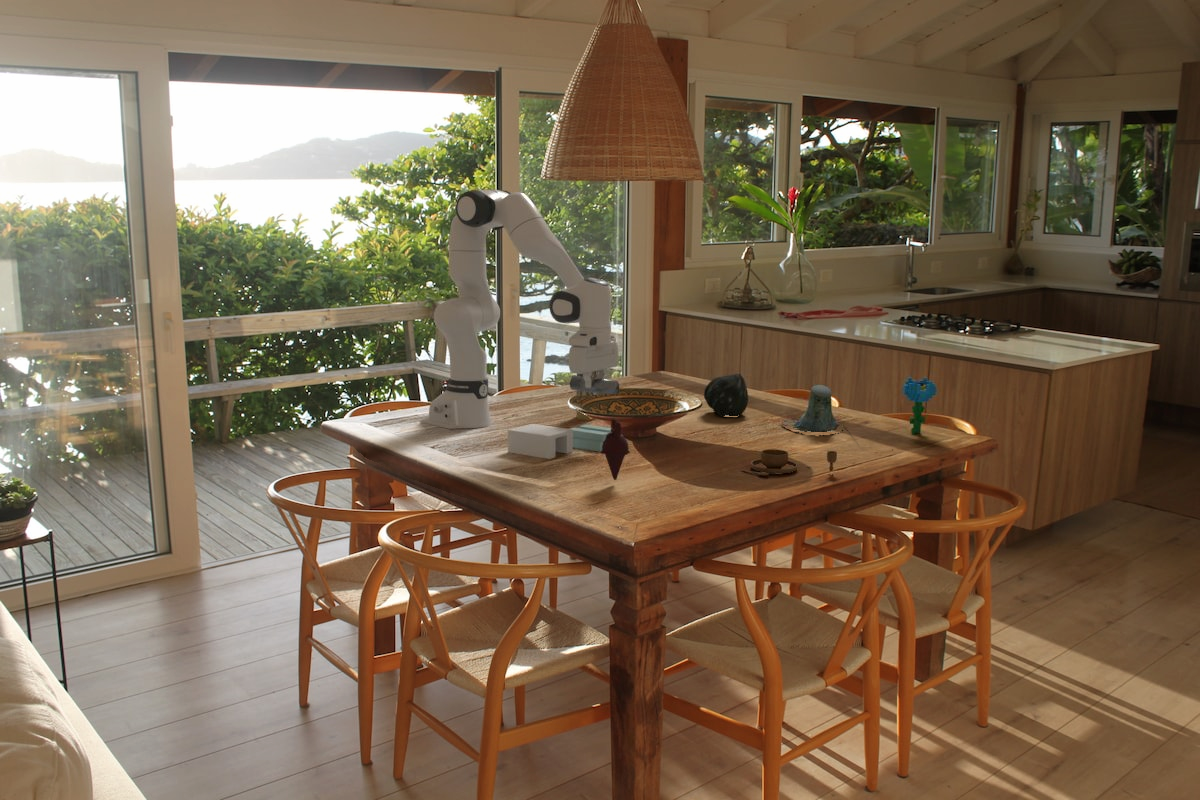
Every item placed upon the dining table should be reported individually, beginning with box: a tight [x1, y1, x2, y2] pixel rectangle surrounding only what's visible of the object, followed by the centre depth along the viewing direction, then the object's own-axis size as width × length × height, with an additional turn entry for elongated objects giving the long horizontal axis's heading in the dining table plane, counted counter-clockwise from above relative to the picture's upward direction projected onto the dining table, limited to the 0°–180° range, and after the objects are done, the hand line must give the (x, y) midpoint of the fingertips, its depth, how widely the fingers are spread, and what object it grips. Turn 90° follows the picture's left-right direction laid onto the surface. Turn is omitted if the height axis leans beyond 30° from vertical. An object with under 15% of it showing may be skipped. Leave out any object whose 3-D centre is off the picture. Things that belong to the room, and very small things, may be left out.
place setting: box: [745, 448, 838, 477], centre depth 264 cm, size 18×20×6 cm
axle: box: [569, 375, 620, 396], centre depth 289 cm, size 14×4×4 cm, turn 57°
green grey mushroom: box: [781, 384, 840, 432], centre depth 312 cm, size 18×20×18 cm
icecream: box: [599, 418, 631, 481], centre depth 252 cm, size 7×7×15 cm
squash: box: [703, 373, 749, 417], centre depth 331 cm, size 14×15×15 cm
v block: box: [570, 423, 624, 453], centre depth 292 cm, size 12×12×4 cm
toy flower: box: [901, 376, 938, 435], centre depth 304 cm, size 9×9×18 cm
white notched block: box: [507, 423, 574, 460], centre depth 282 cm, size 14×11×6 cm
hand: (594, 386), depth 289 cm, fingers closed on axle, 4 cm apart
